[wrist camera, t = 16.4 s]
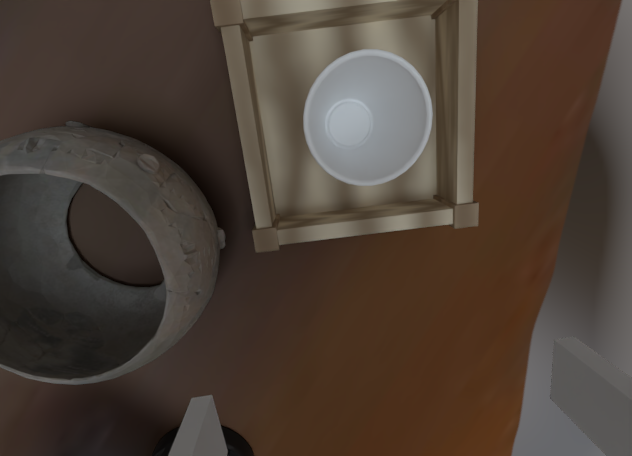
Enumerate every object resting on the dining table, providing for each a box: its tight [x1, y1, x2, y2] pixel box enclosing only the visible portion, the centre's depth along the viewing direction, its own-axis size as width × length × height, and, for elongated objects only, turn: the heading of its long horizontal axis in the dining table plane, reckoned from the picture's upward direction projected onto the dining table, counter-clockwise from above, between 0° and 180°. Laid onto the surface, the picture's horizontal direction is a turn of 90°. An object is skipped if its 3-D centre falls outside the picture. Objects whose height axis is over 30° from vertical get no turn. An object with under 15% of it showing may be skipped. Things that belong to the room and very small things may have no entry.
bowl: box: [0, 121, 226, 385], centre depth 31 cm, size 23×23×15 cm
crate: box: [210, 0, 479, 253], centre depth 33 cm, size 23×23×6 cm
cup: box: [303, 49, 433, 186], centre depth 30 cm, size 10×10×11 cm
